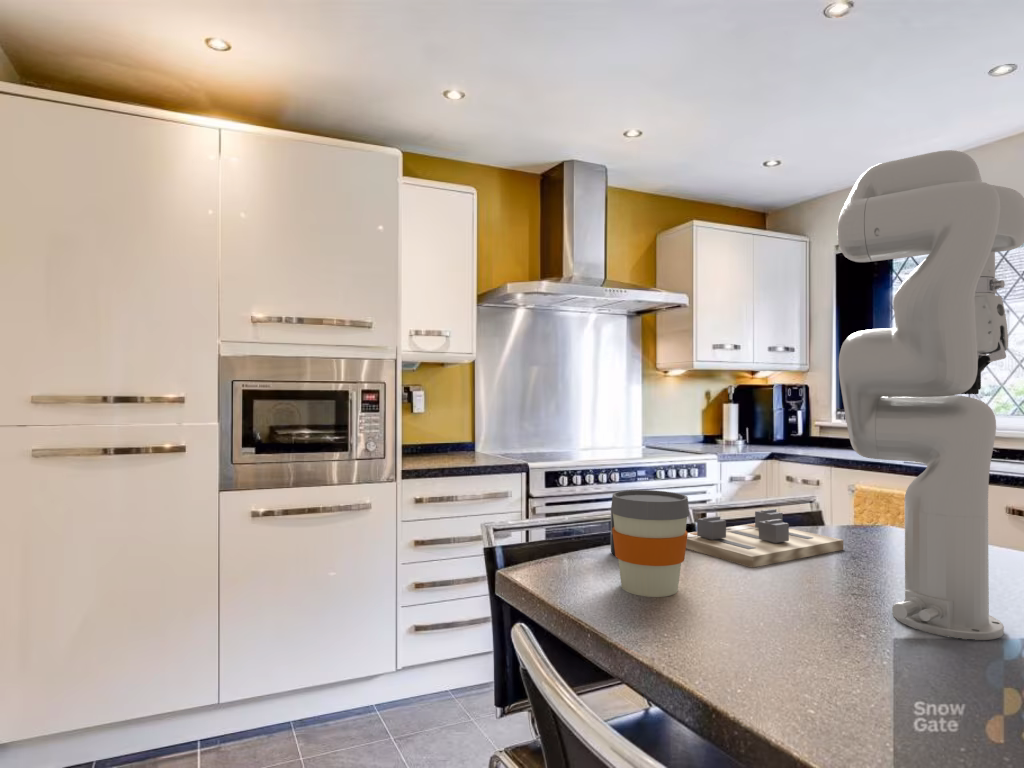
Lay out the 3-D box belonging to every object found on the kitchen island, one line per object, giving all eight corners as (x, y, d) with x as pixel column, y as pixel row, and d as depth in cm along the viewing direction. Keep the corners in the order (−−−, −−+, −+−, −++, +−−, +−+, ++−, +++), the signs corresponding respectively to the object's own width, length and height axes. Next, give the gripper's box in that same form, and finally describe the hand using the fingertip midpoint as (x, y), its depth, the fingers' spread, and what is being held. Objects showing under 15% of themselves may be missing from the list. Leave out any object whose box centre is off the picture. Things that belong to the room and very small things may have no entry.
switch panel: (752, 567, 113) (752, 555, 113) (672, 544, 131) (672, 534, 131) (843, 549, 127) (843, 538, 127) (760, 530, 145) (760, 521, 145)
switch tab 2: (770, 530, 134) (770, 512, 134) (754, 527, 138) (754, 509, 138) (782, 528, 136) (782, 510, 136) (767, 525, 140) (767, 507, 140)
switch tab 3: (775, 543, 123) (775, 522, 123) (758, 539, 126) (758, 519, 126) (789, 540, 125) (789, 520, 125) (771, 536, 128) (772, 517, 128)
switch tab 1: (711, 539, 125) (712, 519, 125) (696, 535, 129) (697, 516, 129) (726, 537, 127) (726, 518, 127) (711, 533, 131) (711, 514, 131)
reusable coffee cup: (662, 574, 109) (662, 488, 109) (705, 596, 97) (705, 500, 97) (597, 580, 105) (597, 491, 105) (634, 604, 93) (634, 503, 93)
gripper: (1029, 286, 106) (1030, 394, 105) (933, 298, 119) (934, 394, 118) (1008, 282, 102) (1009, 394, 102) (912, 295, 115) (913, 393, 115)
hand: (969, 393), depth 110 cm, fingers closed
